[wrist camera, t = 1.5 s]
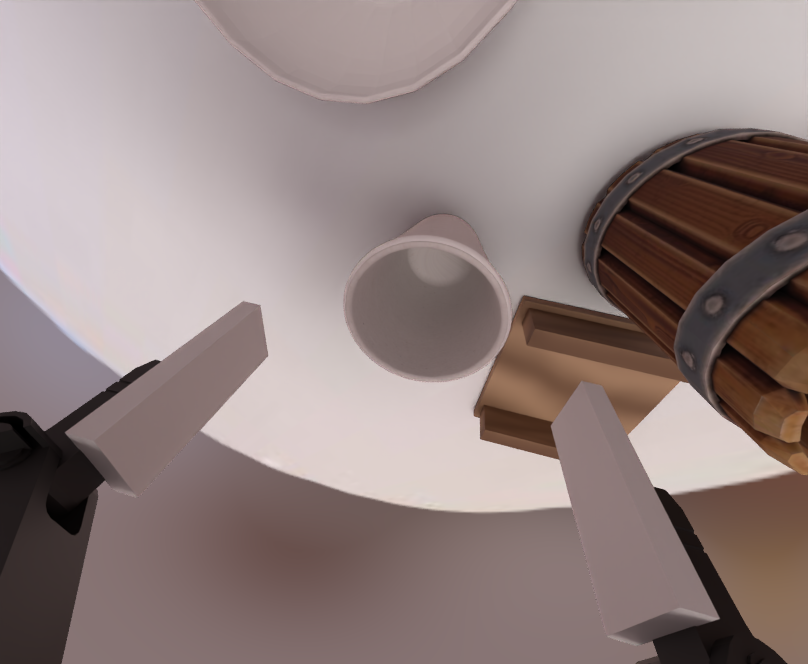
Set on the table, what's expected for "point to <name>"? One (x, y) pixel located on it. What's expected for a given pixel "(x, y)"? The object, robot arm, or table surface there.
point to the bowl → (355, 41)
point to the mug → (718, 273)
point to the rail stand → (568, 373)
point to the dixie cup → (429, 303)
